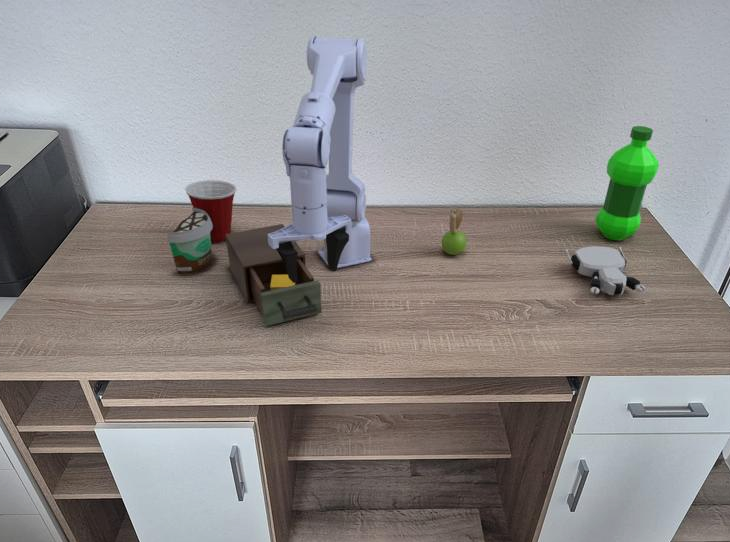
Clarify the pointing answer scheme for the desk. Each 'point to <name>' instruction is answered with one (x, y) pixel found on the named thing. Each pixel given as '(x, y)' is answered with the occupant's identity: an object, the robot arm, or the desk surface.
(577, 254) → the robot toy
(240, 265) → the cabinet
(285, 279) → the block
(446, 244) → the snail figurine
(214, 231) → the plastic cup
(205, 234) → the food container
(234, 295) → the desk surface
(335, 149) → the robot arm
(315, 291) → the drawer
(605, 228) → the plastic bottle
